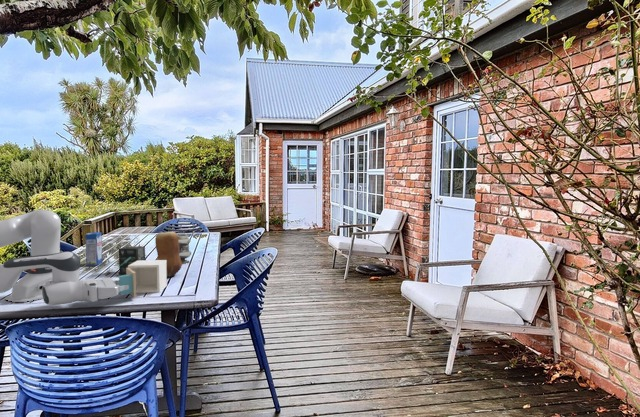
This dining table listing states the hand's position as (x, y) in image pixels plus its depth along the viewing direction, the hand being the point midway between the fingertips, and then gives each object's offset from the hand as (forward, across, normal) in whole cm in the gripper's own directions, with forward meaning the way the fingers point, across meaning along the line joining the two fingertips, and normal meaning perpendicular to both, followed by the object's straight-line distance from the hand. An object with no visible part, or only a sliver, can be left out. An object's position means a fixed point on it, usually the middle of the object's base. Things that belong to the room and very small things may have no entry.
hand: (126, 284), depth 170 cm
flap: (0, -4, -6) cm, 7 cm away
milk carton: (-4, -94, -7) cm, 95 cm away
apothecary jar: (+43, -68, -7) cm, 81 cm away
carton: (+12, -13, -7) cm, 19 cm away
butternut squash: (+27, -34, -7) cm, 44 cm away
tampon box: (+12, -57, -7) cm, 59 cm away
